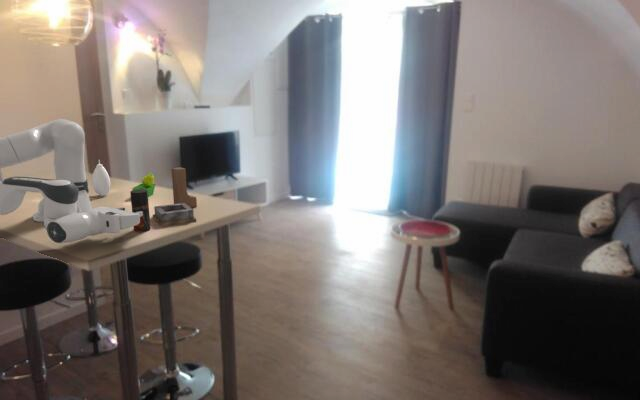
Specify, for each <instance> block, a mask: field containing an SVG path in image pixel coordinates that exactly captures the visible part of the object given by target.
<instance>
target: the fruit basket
mask: <svg viewBox="0 0 640 400" xmlns="http://www.w3.org/2000/svg"><path fill="white" fill-rule="evenodd" d="M141 182H142V183H140V184H138V185H136V186H134V187H132V188H131V189H132V190H138V189H144V190H147V191H148V198H149V197H151V196H153V195H154V194H155V193H154V192H155V187H156V184H155V183H154V182H155V178H154V174H153V173H150V172H149V173H147V175H146V176H144V177H142V179H141ZM132 190H131V191H132Z"/></svg>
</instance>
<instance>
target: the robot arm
mask: <svg viewBox="0 0 640 400" xmlns="http://www.w3.org/2000/svg"><path fill="white" fill-rule="evenodd" d="M85 139H86V134H85V131H84V128H82V126H81V125H80V124H78V123H77V122H75V121H72V120H68V119H64V118H58V119H55V120H52V121H48V122H45V123H42V124H39V125H37V126H35V127H32V128H28V129H26V130H23V131H19V132H16V133H13V134H9V135H7V136H2V137H0V215H1V216H5V215H8V214H11V213H13V212H15V211H16V210H17V209H18V208H20V206H21V205H22V203H23V202H24V199H25V195H26V193H28V192H29V193H40V194H41V195H42V197H43V198H42V199H41V200H40V201H39V203H38V206H37V211H36V212H35V213H33V214H32V220H33V221H35V222H38V223H42V222H43V224H44V225H43V226H44V229H46V233H47V236H48V237H49V239H50V240H51V241H53V242H54V243H57V244H67V243H73V242H76V241H81V240H84V239H86V238H87V237H89V236H90V237H91V236H97V235H102V234H119V233H120V232H121V231H122V230H126V229H129V228H134V227H133V226H136V225H138V224H139V223H140V217H141V216H143V212H142V211H137V212H136V213H134V212H132V211H128V210H126V208H125V207H122V206H121V207H110V206H109V207H108V206H104V205H103V206H97V207H93V206H92V203H91V199H90V195H89V192H90V189H89V188H90V187H89V182H88V181H89V180H88V179H87V177H86V175H87V174H86V165H85V152H86V151H85V147H86V146H85V145H86V144H85V143H86V142H85ZM51 152H54V153H53V156H54V157H53V167H54V175H55V179H50V178H49V179H48V178H39V177H29V176H11V177H7V178H4V175H3V172H2V169H3V168H9V167H12V166H15V165H20V164H22V163H25V162H28V161H32V160H35V159H38V158H40V157H43V156H45V155H47V154H49V153H51Z"/></svg>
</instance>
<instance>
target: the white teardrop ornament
mask: <svg viewBox="0 0 640 400" xmlns="http://www.w3.org/2000/svg"><path fill="white" fill-rule="evenodd" d="M106 169H107V168H105V167H104V165H103V164H101V160H100V159H98V164H96V167H95V168H94V170H93V173H92V180H91V183H92V187H93V188H92V189H93V191H94V192H95V193H96V194H97V195H98V196H100V197H104V196H106V195H107V194H109V192H110V189H111V180H110V179H111V178H110V176H109V173H108V171H107V170H106Z"/></svg>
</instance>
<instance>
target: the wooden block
mask: <svg viewBox="0 0 640 400" xmlns="http://www.w3.org/2000/svg"><path fill="white" fill-rule="evenodd" d="M171 179H172V180H171V181H172V197H173V204H180V203H186V204H187V205H188V206H189V207H190V208H192V209H193V208H196V207H197V205H198V204H197V201H198V200H197V197H196V196H194V195H189V194H188V190H187V189H188V187H187V172H186V168H184V167H180V166H179V167H172V168H171Z"/></svg>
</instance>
